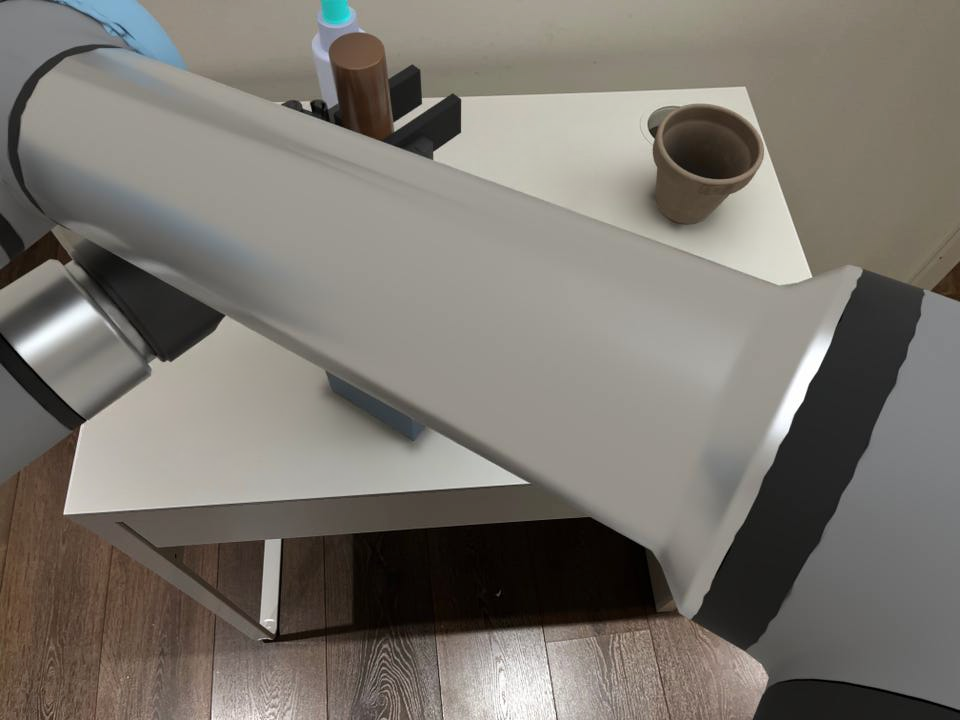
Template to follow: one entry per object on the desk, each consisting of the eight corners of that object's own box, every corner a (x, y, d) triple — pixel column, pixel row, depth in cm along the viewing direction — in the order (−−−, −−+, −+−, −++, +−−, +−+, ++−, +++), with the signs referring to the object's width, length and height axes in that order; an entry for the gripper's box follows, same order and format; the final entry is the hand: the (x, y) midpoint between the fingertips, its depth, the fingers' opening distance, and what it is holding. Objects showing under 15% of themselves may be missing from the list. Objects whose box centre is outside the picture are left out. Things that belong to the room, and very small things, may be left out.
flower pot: (740, 245, 79) (775, 183, 71) (640, 242, 79) (663, 179, 71) (724, 170, 85) (755, 103, 76) (632, 167, 85) (651, 100, 76)
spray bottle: (386, 137, 86) (365, -38, 67) (383, 173, 83) (360, 1, 64) (337, 136, 86) (302, -40, 67) (332, 172, 83) (294, 0, 64)
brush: (444, 225, 50) (437, 49, 37) (402, 272, 48) (380, 103, 35) (367, 183, 52) (334, 1, 39) (324, 227, 50) (275, 50, 37)
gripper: (67, 266, 42) (362, 85, 51) (225, 441, 37) (523, 206, 46) (-4, 179, 36) (348, -13, 44) (175, 376, 31) (534, 116, 39)
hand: (436, 99), depth 45 cm, fingers closed on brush, 3 cm apart
